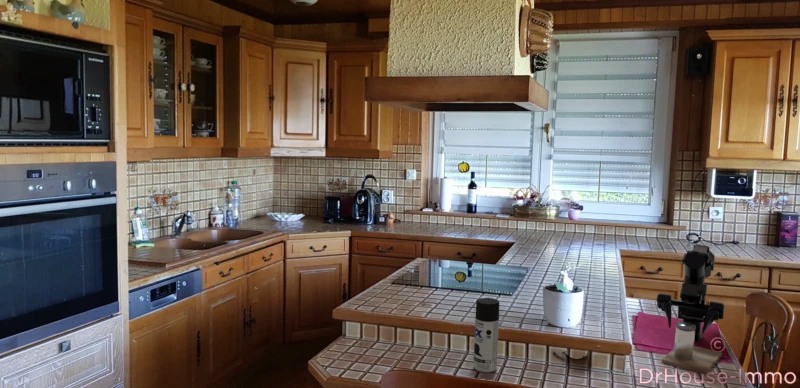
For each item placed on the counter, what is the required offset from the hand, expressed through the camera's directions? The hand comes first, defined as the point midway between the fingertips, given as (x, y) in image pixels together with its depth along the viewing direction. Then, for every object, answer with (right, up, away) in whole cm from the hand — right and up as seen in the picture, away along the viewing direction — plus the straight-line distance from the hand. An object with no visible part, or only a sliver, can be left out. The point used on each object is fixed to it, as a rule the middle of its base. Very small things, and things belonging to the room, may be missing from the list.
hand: (686, 330), depth 184 cm
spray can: (-62, -9, -10) cm, 64 cm away
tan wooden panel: (+2, -9, -1) cm, 9 cm away
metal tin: (-2, -8, -2) cm, 8 cm away
